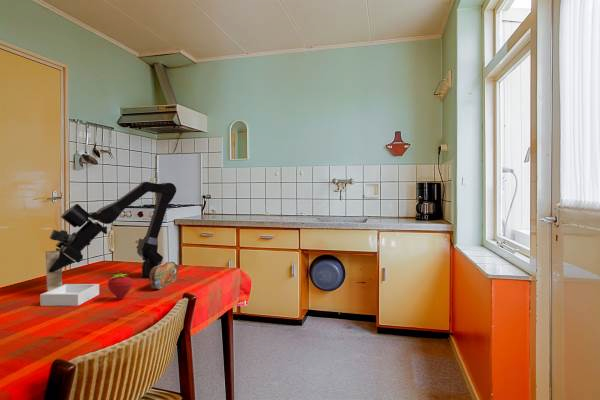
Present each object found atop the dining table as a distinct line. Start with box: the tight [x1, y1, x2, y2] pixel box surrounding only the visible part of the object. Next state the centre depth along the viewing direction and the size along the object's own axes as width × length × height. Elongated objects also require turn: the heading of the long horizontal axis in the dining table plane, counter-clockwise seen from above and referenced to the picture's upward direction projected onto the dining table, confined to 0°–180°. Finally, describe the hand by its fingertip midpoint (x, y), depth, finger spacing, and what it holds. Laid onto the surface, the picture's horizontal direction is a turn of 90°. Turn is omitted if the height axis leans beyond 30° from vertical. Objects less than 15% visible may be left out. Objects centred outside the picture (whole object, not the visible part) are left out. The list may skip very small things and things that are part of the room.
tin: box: [148, 261, 179, 290], centre depth 131 cm, size 15×3×8 cm, turn 168°
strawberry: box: [107, 271, 134, 301], centre depth 115 cm, size 6×8×10 cm
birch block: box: [45, 250, 63, 291], centre depth 122 cm, size 4×4×13 cm
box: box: [39, 283, 100, 307], centre depth 115 cm, size 12×12×4 cm
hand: (49, 270), depth 121 cm, fingers closed on birch block, 4 cm apart
